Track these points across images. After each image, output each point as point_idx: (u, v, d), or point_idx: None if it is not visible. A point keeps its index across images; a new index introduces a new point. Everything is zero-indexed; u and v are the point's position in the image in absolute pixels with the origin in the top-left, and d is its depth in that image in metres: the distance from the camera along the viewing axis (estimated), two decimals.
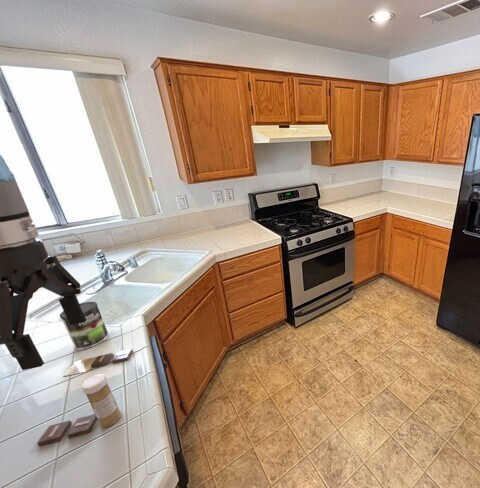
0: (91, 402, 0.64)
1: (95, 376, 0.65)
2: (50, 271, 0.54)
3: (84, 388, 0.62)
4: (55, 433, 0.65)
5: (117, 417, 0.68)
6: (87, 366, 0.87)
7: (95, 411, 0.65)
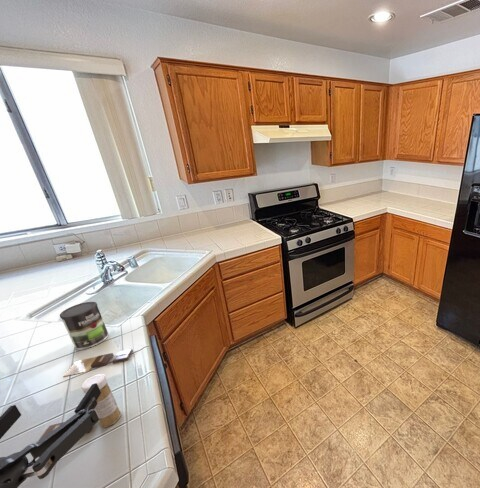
0: None
1: (95, 376, 0.65)
2: None
3: (84, 388, 0.62)
4: None
5: (117, 417, 0.68)
6: (87, 366, 0.87)
7: (95, 411, 0.65)
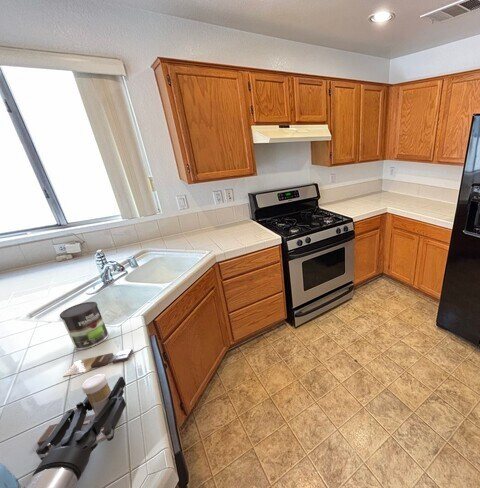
0: (91, 402, 0.64)
1: (95, 376, 0.65)
2: None
3: (84, 388, 0.62)
4: None
5: None
6: (87, 366, 0.87)
7: (95, 411, 0.65)
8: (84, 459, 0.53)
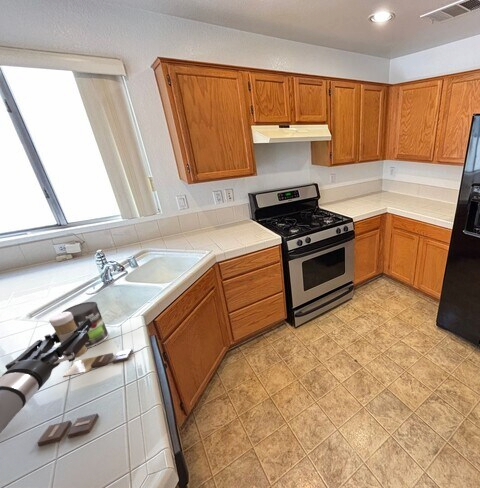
0: (58, 334, 0.73)
1: (62, 313, 0.74)
2: None
3: (51, 320, 0.71)
4: (55, 433, 0.65)
5: (83, 351, 0.77)
6: (87, 366, 0.87)
7: None
8: (46, 371, 0.62)
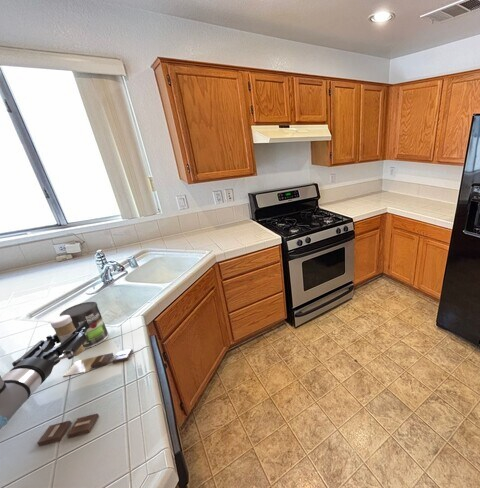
0: (58, 335, 0.81)
1: (62, 316, 0.83)
2: None
3: (52, 323, 0.80)
4: (55, 433, 0.65)
5: (81, 350, 0.85)
6: (87, 366, 0.87)
7: None
8: (48, 367, 0.70)
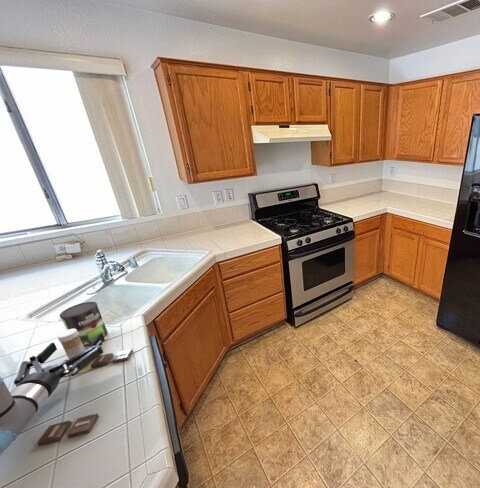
0: (65, 349, 0.83)
1: (69, 330, 0.84)
2: None
3: (59, 337, 0.81)
4: (55, 433, 0.65)
5: None
6: (87, 366, 0.87)
7: (68, 356, 0.84)
8: (54, 381, 0.72)
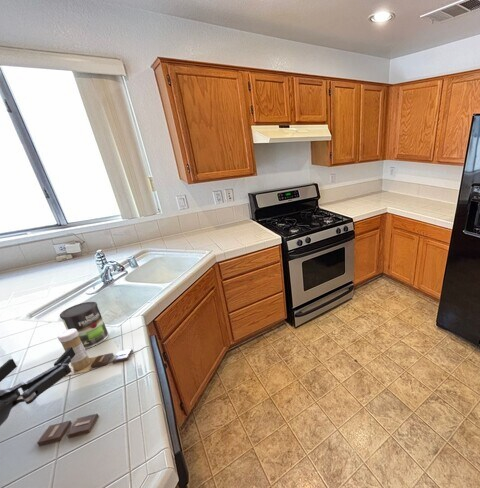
0: (65, 349, 0.83)
1: (69, 330, 0.84)
2: None
3: (59, 337, 0.81)
4: (55, 433, 0.65)
5: (86, 363, 0.87)
6: (87, 366, 0.87)
7: None
8: (3, 412, 0.57)
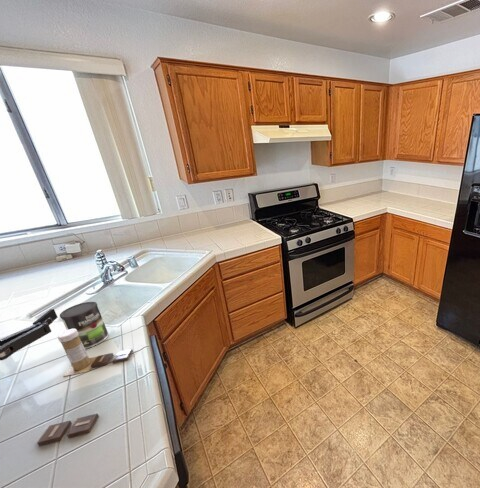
0: (65, 349, 0.83)
1: (69, 330, 0.84)
2: None
3: (59, 337, 0.81)
4: (55, 433, 0.65)
5: (86, 363, 0.87)
6: (87, 366, 0.87)
7: (68, 356, 0.84)
8: None
